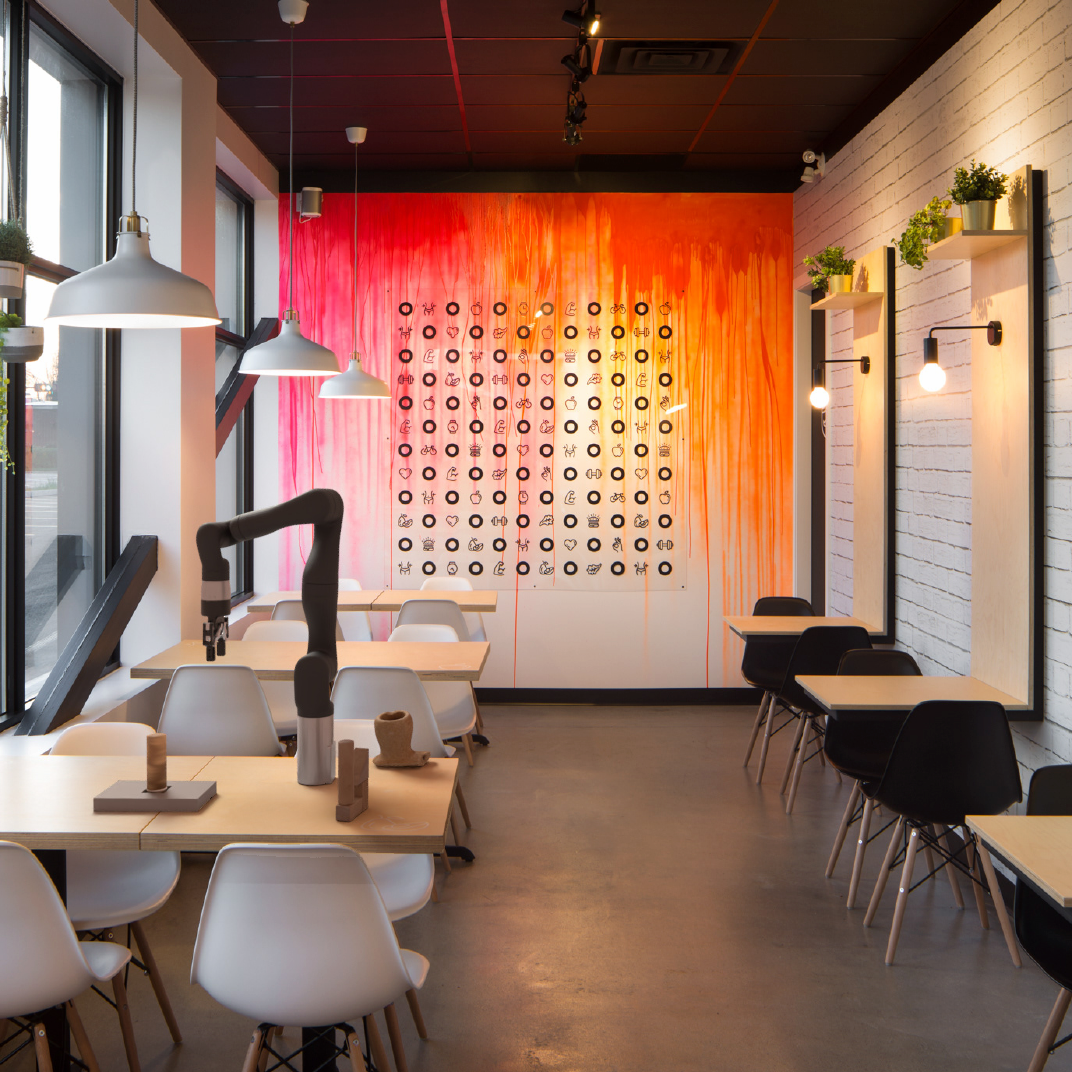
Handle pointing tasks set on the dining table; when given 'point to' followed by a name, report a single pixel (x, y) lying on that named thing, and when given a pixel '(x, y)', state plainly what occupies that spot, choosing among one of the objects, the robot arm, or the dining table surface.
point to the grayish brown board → (155, 796)
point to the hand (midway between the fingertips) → (216, 658)
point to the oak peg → (156, 763)
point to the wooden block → (352, 780)
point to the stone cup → (397, 740)
